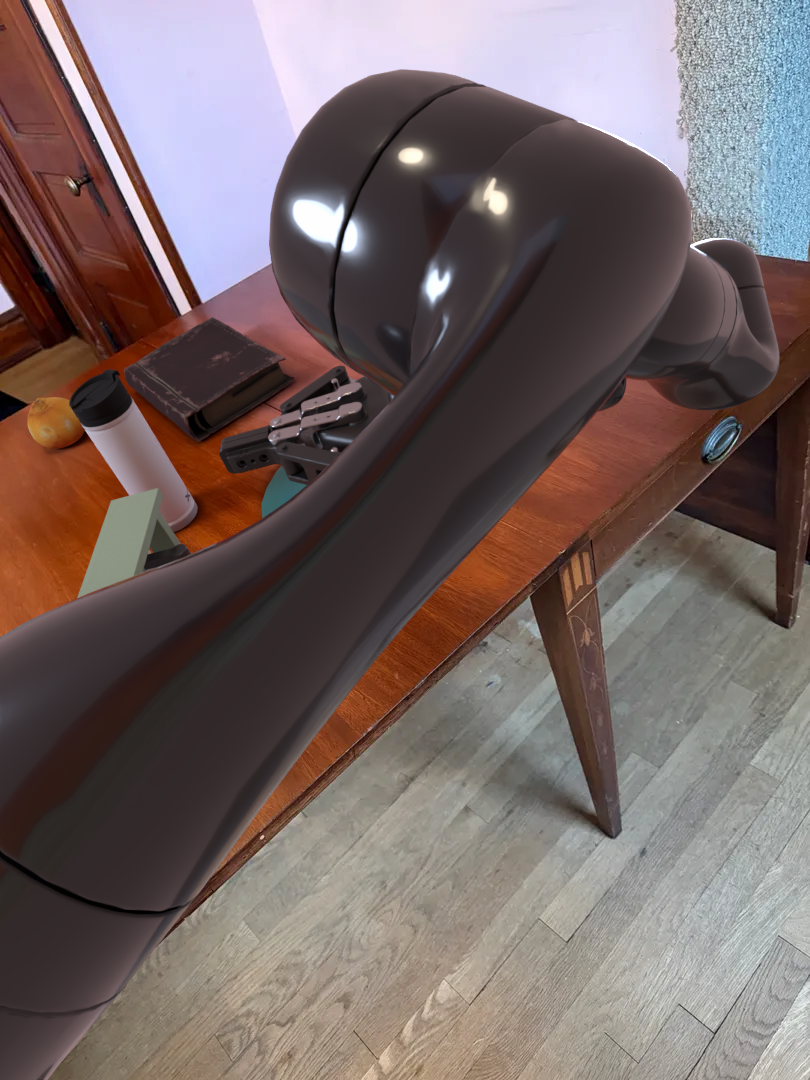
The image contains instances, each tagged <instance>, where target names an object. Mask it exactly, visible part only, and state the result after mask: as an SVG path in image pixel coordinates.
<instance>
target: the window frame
mask: <svg viewBox="0 0 810 1080" xmlns="http://www.w3.org/2000/svg"><path fill="white" fill-rule="evenodd" d="M162 499H163V494H162V493H161V491H160V490H159V488H156V489H153V490H149V491H145V492H141V493H138V494H134V495H130V496H129V495H127V496H123V497H119V498H116V499H112V500H110V502H109V506H108V509H107V512H106V515H105V517H104V520H103V523H102V525H101V528H100V530H99V531H100V532H99V534H98V537H97V540H96V543H95V546H94V548H93V552H92V554H91V558H90V561H89V563H88V565H87V568H86V572H85V575H84V578H83V581H82V583H81V586H80V589H79V592H78V595H77V598H79V597H81V596H84V595H86V594H88V593H91V592H94V591H96V590H99V589H101V588H104V587H106V586H109V585H111V584H114V583H117V582H119V581H122V580H124V579H127V578H130V577H132V576H135V575H138V574H140V573H143V569H144V566H145V562H146V558H147V554H148V551H149V550H150V551H151V552H152V553H155V552H159V551H162V550H166V549H170V548H173V547H174V546H176V545H178V544H182V543H181V542H180V539H178V537H177V535H176V534H175V532H173V531H172V529H171V528H170V526H169V525H168V523H167V522H166V520H165V519H164V517H163V516H162V514H161V513H160V511H159V510H160V506H161V502H162ZM77 598H76V599H77Z"/></svg>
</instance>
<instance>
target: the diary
mask: <svg viewBox="0 0 810 1080" xmlns="http://www.w3.org/2000/svg"><path fill="white" fill-rule="evenodd" d="M285 360H287V358H286V357H284V355H283V356H282V355H281V354H280V353H277V352H275V351H274V350H272V349H270V348H268V347H266V346H264V345H263V344H260V343H259V342H257V341H255V340H253V339H251V338H249V337H247V336H246V335H244V334H242V333H241V332H240V331H238V330H237V329H235V328H234V327H232V326H230V325H229V324H227V323H225V322H223V321H220V320H219V319H217V318H215V317H214V316H212V317H210V318H208V319H206V320H204V321H202V322H201V323H199V324H196V325H195V326H194V327H192V328H190V329H187V330H186V331H184V332H182V333H180V334H179V335H176V336H175V337H174V338H172V339H170V340H168V341H166V342H165V343H164V344H162V345H160V346H158V347H157V348H155V349H154V350H152V351H151V352H149V353H148V354H146V355H144V356H143V357H141V358H140V359H138V360H137V361H135V362H134V363H132V364H130V365H128V366H126V367H125V368H124V379H125V381H126V383H127V385H128V386H129V387H130V388H131V389H133V390H134V391H135V392H136V393H138V394H139V395H140V396H142V397H143V398H144V399H145V400H146V401H147V402H149V403H150V404H151V405H152V406H153V407H154V408H155V409H156V410H158V411H159V412H160V413H162V415H164V416H165V417H167V418H168V419H169V420H171V421H172V422H173V423H174V424H175V425H176V426H177V427H179V429H180V430H181V431H183V432H184V433H185V434H186V435H187V436H189V437H190V438H191V439H193V440H194V441H196V442H198V443H199V442H202V441H203V440H205V439H206V438H207V437H209V436H210V435H211V434H214V433H215V432H217V431H219V430H220V429H222V428H223V427H225V426H227V425H229V424H231V422H233V421H235V420H237V419H238V418H240V417H242V416H243V415H245V414H246V413H248V412H249V411H251V410H252V409H254V408H255V407H257V406H259V405H261V404H262V403H264V402H265V401H267V400H269V399H270V398H271V397H273V396H274V395H275V394H277V393H279V392H280V391H281V390H282V389H284V388H285V387H287V386H289V385H290V384H291V382H292V381H293V380H294V378H295V377H294V376H290V375H288V374H286V373H284V372H283V370H282V367H281V365H280V362H283V361H285Z"/></svg>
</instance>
